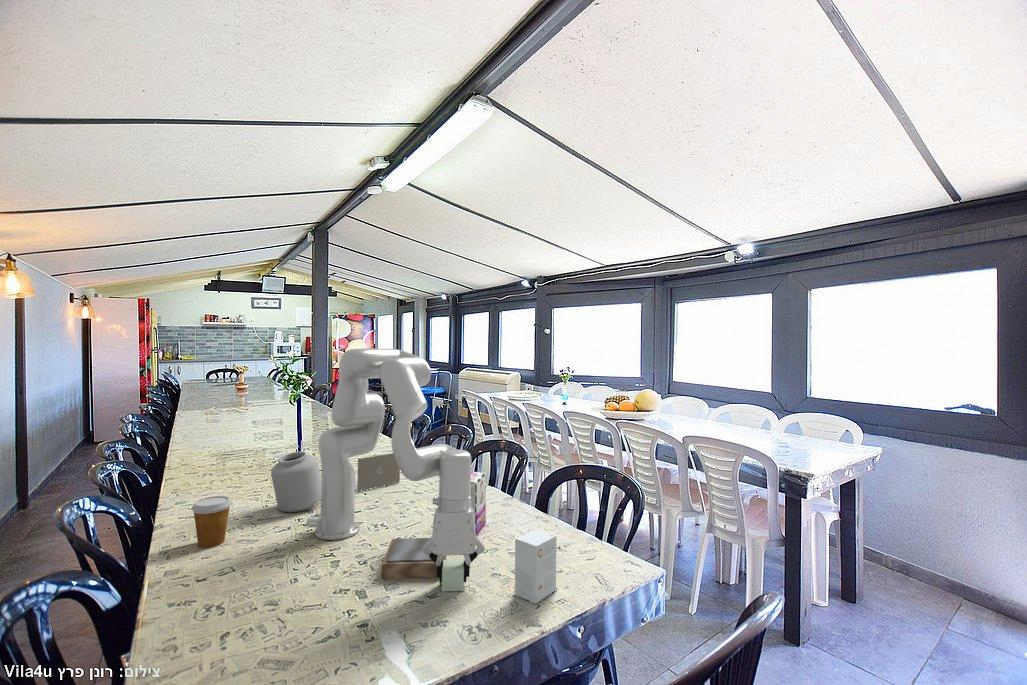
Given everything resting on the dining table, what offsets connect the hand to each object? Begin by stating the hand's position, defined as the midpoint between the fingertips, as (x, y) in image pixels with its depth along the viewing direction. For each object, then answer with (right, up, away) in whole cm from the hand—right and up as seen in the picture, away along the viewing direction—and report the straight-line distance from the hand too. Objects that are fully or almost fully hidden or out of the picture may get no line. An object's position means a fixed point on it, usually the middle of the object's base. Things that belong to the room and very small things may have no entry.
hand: (453, 579), depth 111 cm
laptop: (-43, -2, +79) cm, 90 cm away
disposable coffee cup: (-71, -1, +21) cm, 74 cm away
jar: (-61, -1, +49) cm, 78 cm away
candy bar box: (+2, -2, +34) cm, 34 cm away
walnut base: (-11, -2, +11) cm, 16 cm away
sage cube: (0, -2, 0) cm, 2 cm away
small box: (+19, -2, -2) cm, 20 cm away
